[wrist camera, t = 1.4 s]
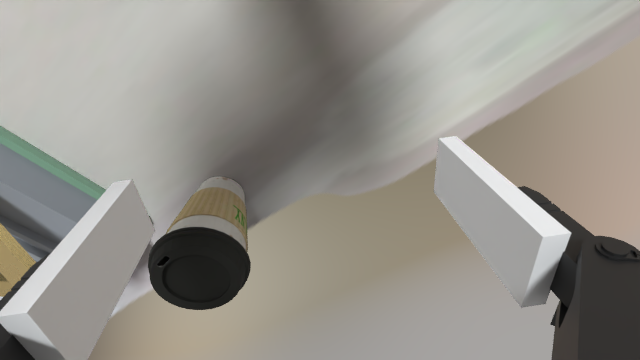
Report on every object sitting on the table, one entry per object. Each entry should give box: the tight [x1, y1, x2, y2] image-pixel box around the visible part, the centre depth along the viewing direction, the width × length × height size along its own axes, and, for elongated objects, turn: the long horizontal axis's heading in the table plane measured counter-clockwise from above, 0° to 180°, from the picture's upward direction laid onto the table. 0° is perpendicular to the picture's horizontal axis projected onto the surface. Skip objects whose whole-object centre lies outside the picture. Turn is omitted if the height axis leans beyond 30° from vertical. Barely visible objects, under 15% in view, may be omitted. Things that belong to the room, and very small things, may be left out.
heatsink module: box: [0, 126, 150, 262], centre depth 39 cm, size 24×15×7 cm, turn 44°
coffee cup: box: [148, 176, 250, 310], centre depth 38 cm, size 10×10×15 cm
